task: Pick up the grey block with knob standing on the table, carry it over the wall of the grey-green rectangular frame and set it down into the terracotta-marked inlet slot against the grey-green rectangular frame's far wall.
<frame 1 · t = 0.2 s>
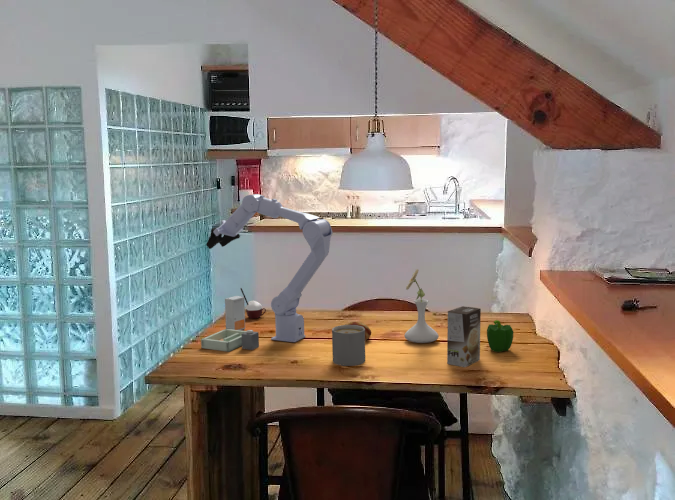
hand: (214, 245, 234), 31 cm above the table, tool tilted 45°, fingers open, 7 cm apart
cocoa: (253, 318, 258), on the table
coffee mug: (349, 359, 203), on the table
croissant: (356, 340, 225), on the table
coffee box: (463, 362, 197), on the table
grey block with knob: (250, 347, 217), on the table
flower in vase: (420, 342, 220), on the table
grey-green rectangular frame: (227, 344, 222), on the table
bell pepper: (499, 350, 209), on the table
skincare box: (235, 330, 240), on the table
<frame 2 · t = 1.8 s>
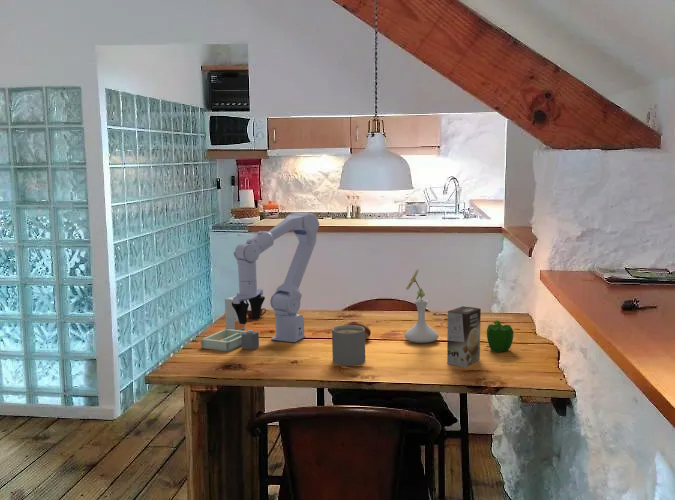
hand: (249, 320, 216), 9 cm above the table, tool pointing down, fingers open, 7 cm apart
nothing on the table moved.
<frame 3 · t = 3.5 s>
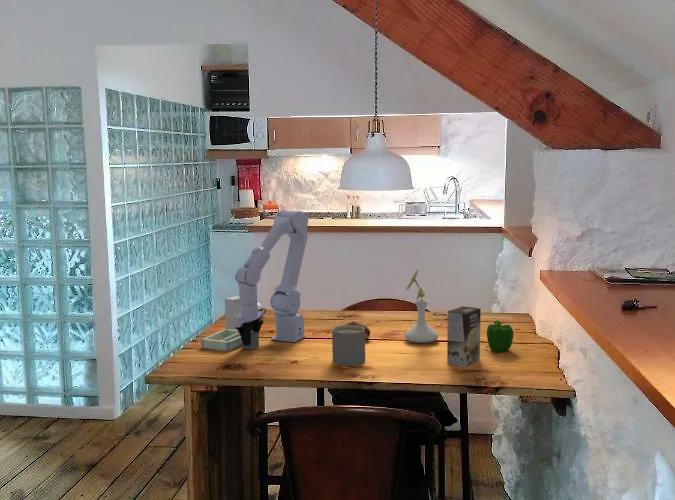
hand: (250, 343, 217), 1 cm above the table, tool pointing down, fingers closed on grey block with knob, 4 cm apart
grey block with knob: (250, 347, 217), on the table, touching gripper
everything else where it was.
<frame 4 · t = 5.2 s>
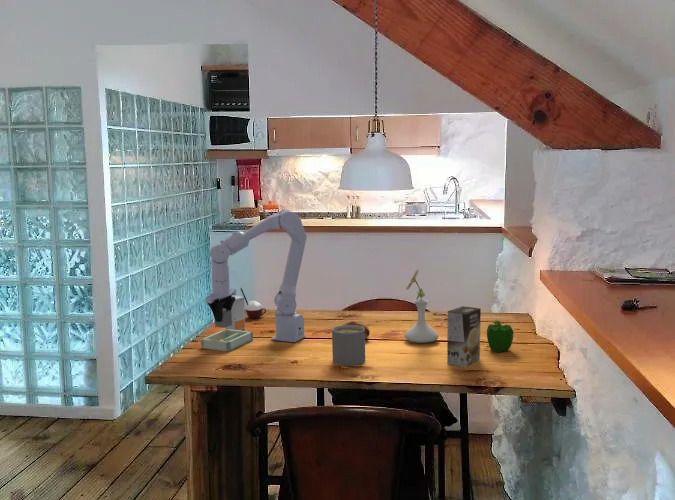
hand: (222, 319, 221), 8 cm above the table, tool pointing down, fingers closed on grey block with knob, 4 cm apart
grey block with knob: (223, 325, 222), point 6 cm above the table, touching gripper
everything else where it was.
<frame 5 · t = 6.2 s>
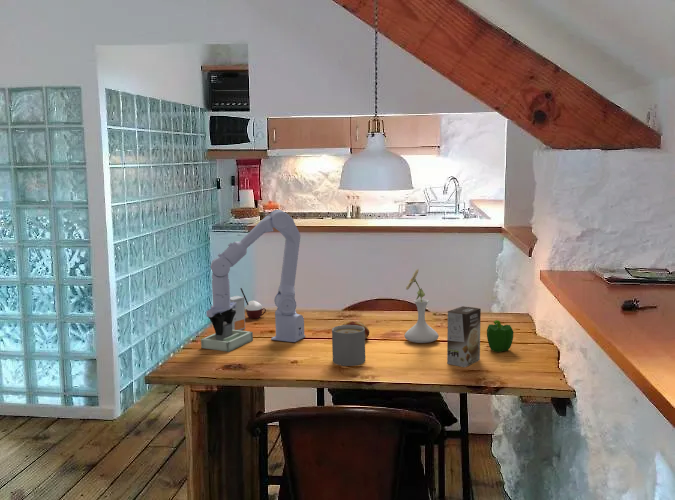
hand: (223, 333, 222), 4 cm above the table, tool pointing down, fingers closed on grey block with knob, 4 cm apart
grey block with knob: (224, 339, 222), point 2 cm above the table, touching gripper
everything else where it was.
when the fingers open (4 cm above the table, at t = 6.8 s): grey block with knob stays where it is, resting on grey-green rectangular frame.
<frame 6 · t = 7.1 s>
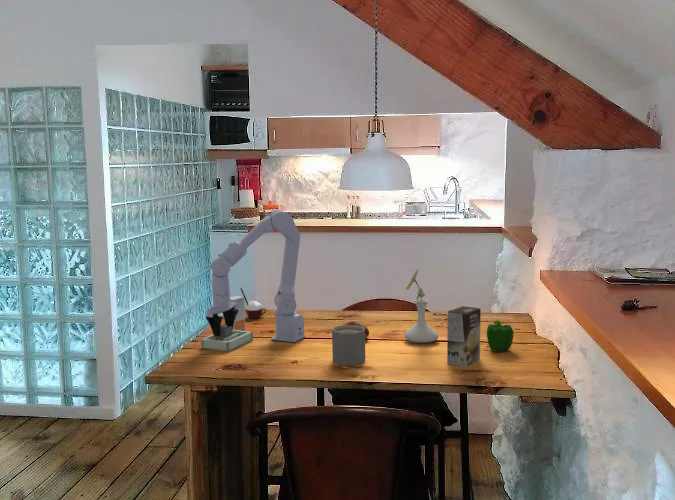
hand: (223, 333, 222), 4 cm above the table, tool pointing down, fingers open, 7 cm apart
grey block with knob: (224, 341, 222), point 1 cm above the table, touching grey-green rectangular frame
everything else where it was.
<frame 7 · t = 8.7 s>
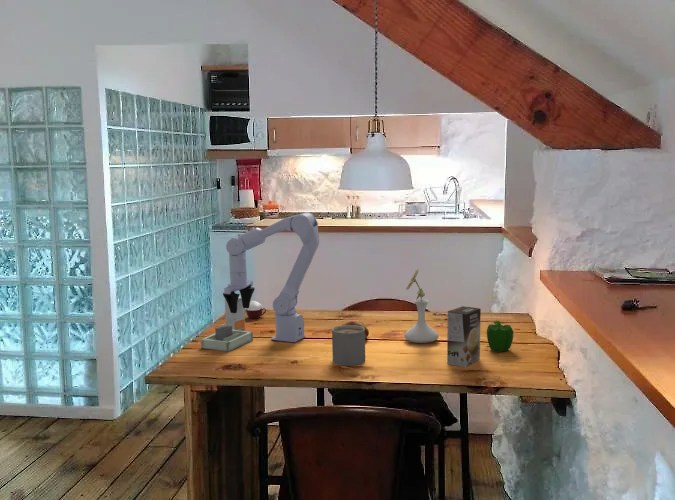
hand: (239, 310, 229), 9 cm above the table, tool pointing down, fingers open, 7 cm apart
nothing on the table moved.
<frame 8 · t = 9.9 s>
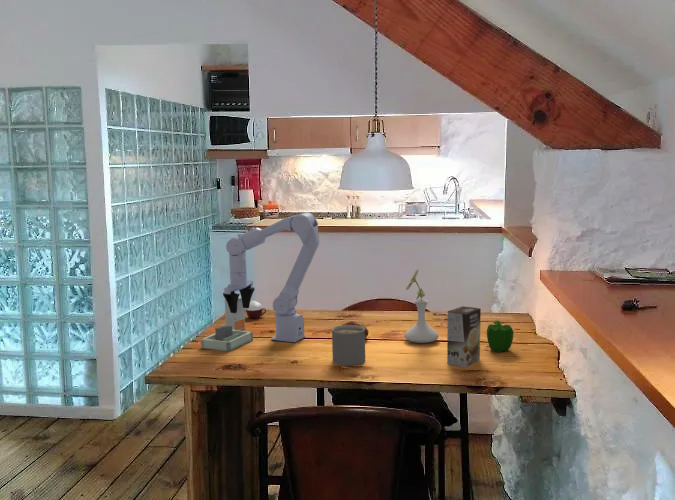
hand: (239, 310, 229), 9 cm above the table, tool pointing down, fingers open, 7 cm apart
nothing on the table moved.
at the end: grey block with knob inside the target area on the grey-green rectangular frame (0.3 cm from its centre), point 0.7 cm above the grey-green rectangular frame's base; grey block with knob tilted 0°; the gripper is holding nothing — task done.
